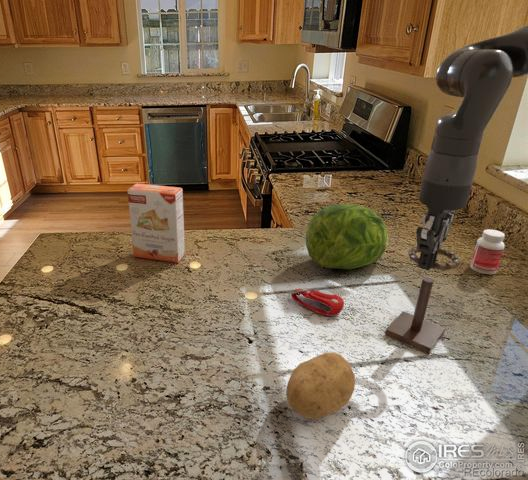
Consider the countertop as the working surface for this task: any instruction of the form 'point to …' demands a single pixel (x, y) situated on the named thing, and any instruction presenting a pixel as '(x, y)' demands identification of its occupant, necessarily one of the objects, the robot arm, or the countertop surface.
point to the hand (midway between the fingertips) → (426, 266)
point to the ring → (439, 266)
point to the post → (417, 324)
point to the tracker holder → (319, 300)
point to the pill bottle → (488, 252)
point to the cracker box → (157, 222)
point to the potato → (320, 386)
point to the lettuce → (346, 236)
